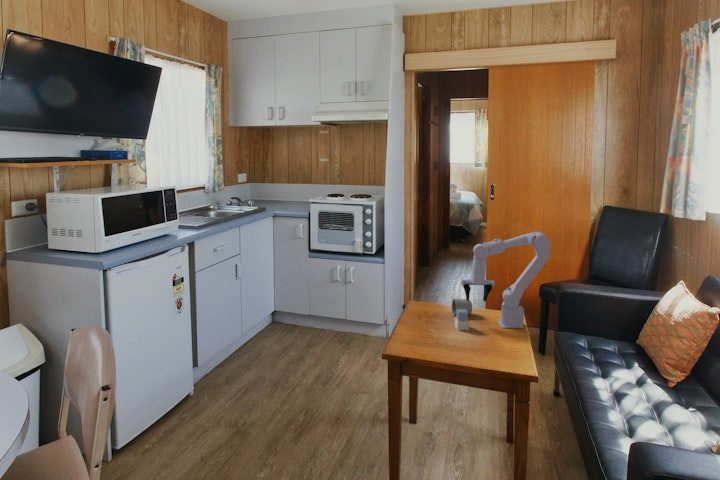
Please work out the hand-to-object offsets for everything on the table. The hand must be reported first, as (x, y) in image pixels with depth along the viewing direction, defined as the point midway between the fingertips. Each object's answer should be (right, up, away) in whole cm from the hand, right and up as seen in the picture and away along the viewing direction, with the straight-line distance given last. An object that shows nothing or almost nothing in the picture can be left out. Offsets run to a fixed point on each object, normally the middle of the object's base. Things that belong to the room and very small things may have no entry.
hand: (476, 300), depth 227 cm
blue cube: (-7, -8, -5) cm, 12 cm away
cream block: (-7, -12, -4) cm, 14 cm away
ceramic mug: (-4, -8, +14) cm, 17 cm away
